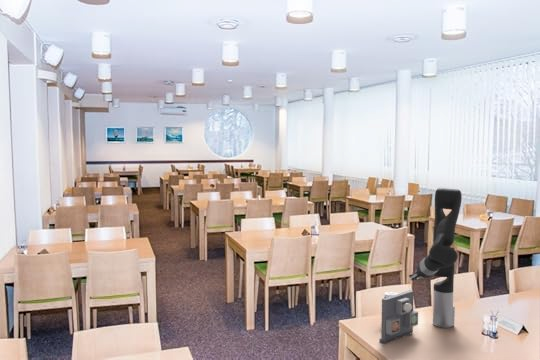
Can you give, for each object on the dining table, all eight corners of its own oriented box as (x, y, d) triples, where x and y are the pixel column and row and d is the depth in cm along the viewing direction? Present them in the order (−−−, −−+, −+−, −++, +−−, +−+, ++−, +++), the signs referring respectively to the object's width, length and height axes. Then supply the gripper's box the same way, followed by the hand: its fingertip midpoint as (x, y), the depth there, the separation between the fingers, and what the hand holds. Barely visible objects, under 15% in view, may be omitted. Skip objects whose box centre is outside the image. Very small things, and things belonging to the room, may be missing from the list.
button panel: (418, 334, 225) (419, 292, 224) (390, 346, 212) (391, 301, 211) (407, 330, 230) (408, 289, 229) (379, 342, 217) (380, 298, 216)
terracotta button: (398, 330, 215) (398, 321, 215) (392, 332, 213) (393, 323, 212) (393, 328, 217) (394, 319, 217) (388, 330, 215) (388, 321, 214)
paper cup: (399, 324, 239) (399, 296, 238) (383, 322, 241) (384, 295, 240) (398, 318, 247) (399, 291, 246) (383, 317, 248) (383, 290, 247)
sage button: (416, 322, 224) (416, 314, 224) (411, 324, 222) (411, 316, 221) (412, 321, 226) (412, 313, 226) (407, 323, 223) (407, 314, 223)
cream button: (411, 311, 218) (411, 302, 217) (406, 313, 215) (406, 304, 215) (407, 310, 220) (407, 301, 219) (401, 311, 217) (401, 303, 217)
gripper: (435, 252, 210) (422, 264, 226) (411, 265, 207) (398, 276, 222) (445, 267, 207) (431, 279, 223) (420, 280, 204) (407, 291, 219)
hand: (415, 277), depth 223 cm, fingers closed
